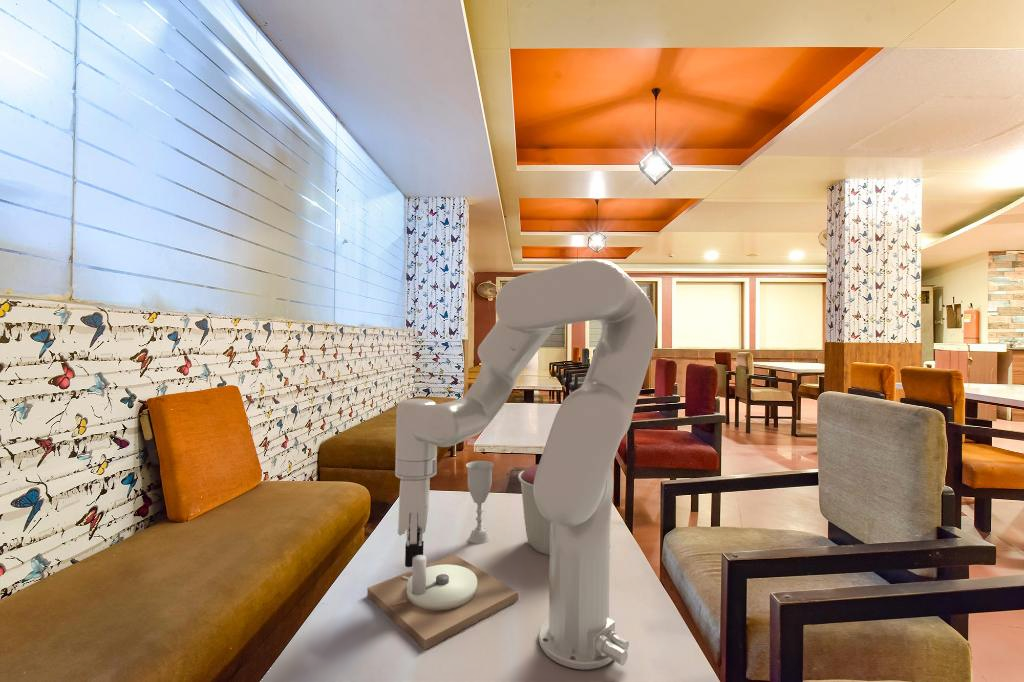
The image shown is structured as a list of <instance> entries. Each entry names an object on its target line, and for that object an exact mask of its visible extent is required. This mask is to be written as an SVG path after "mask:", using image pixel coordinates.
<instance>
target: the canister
mask: <svg viewBox="0 0 1024 682" xmlns="http://www.w3.org/2000/svg"><path fill="white" fill-rule="evenodd" d="M538 466H539V463H538V464H533V465H531V466H528V467H527V468H525V469H523V470H522V471H520V472H519V473H518V476H517V478H518V480H519V482H520V487H521V495H522V496H521V497H522V509H523V518H524V527H525V534H526V539H527V541H528V543H529V545H530V546H531V547H532V549H534V550H535V551H536V552H538V553H541V554H543V555H546V556H550V524H551V522H549V521H548V520H547V519H546V518H545V517H544V516H543V515H542V514H541V513H540V511H539V509H538V507H537V505H536V503H535V499H534V493H533V485H534V479H535V475H536V472H537V469H538Z"/></svg>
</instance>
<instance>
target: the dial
mask: <svg viewBox="0 0 1024 682" xmlns="http://www.w3.org/2000/svg"><path fill="white" fill-rule="evenodd" d="M426 565H427V557H426V555H424V554H423V555H417V556H414V557H413V559H412V567H411V568H412V569H411V571H412V576H411V577H410V578H409V580H408V582H407V598H408V600H409V601H410V602H411V603H412V604H413V605H415V606H417V607H419V608H422V609H427V610H448V609H453V608H456V607H459V606H462V605H464V604H466V603H467V602H469V601H470V600H471V599H473V597H474V596H475V594H476V592H477V577H476V575H475V574H474V573H473V572H472V571H471V570H469V569H467V568H465V567H462V566H458V565H449V564H444V565H435V566H430V567H427V568H426Z"/></svg>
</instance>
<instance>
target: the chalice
mask: <svg viewBox="0 0 1024 682" xmlns="http://www.w3.org/2000/svg"><path fill="white" fill-rule="evenodd" d="M494 465H495V463H493V462H492V461H487V460H474V461H469V462H467V463H466V464H465V466H466V469H467V488H468V491H469V493H470V496H471V498H472V500H473V503H475V504H476V505H477V507H476V508H477V509H476V511H475V512H476V514H477V516H476V518H475V520H476V523H477V524H476V527H474V528H473V529H472V530H471V532H470V535H469V537H468V541H469V542H470V543H472V544H477V545H479V544H486V543H487V542H489V541H490V537H489V533H488V531H487V529H486V528H484V527H483V526H482V521H483V520H484V519H483V517H482V514H483V509H482V504H483V503H486V500H487V498H488V495H489V494H490V491H491V488H492V485H493V477H492V476H493V467H494Z"/></svg>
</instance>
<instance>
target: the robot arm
mask: <svg viewBox="0 0 1024 682" xmlns="http://www.w3.org/2000/svg"><path fill="white" fill-rule="evenodd" d="M495 312H496V315H497V318H498V320H497V322H496V323H495V324H494V325H493V326H492V328H491V330H490V331H488V333H487V335H486V336H485V338H484V339H483V340H482V342H481V343H480V344H479V346H478V348H477V356H478V358H479V361H480V362H481V363H480V365H481V366H480V371H479V373H478V375H477V377H476V378H475V380H474V382H473V383H472V385H471V386H470V387H469V389H468V390H467V391H466V392H465V393H464V395H463V396H462V397H461V398H459V399H453V400H451V401H447V402H441V403H438V404H437V403H436V401H434V400H432V399H428V398H408V399H403V400H401V401H399V403H398V404H397V406H396V413H395V414H396V415H395V416H396V418H395V419H396V421H395V422H396V424H395V469H394V470H395V471H394V473H395V474H394V475H395V477H396V478H398V479H400V480H399V481H400V482H399V493H398V494H399V497H398V499H399V500H398V522H397V534H398V535H399V536H402V535H405V534H406V542H405V545H404V546H405V555H404V560H405V561H404V565H405V567H406V568H412V559H413V557H414V556H417V555H424V544H425V543H424V540H423V535H424V534H425V533H426V528H427V523H428V522H427V521H428V516H429V515H428V514H429V507H430V506H429V505H430V487H431V486H430V484H431V482H430V480H431V479H430V478H433V477H435V476H436V475H437V470H438V469H437V468H438V467H437V465H438V463H437V462H438V461H437V459H438V458H437V457H438V447H441V448H442V447H443V448H449V447H453V446H455V445H458V444H459V443H463V442H464V441H466V440H469V439H471V438H474V437H476V436H478V435H479V434H480V433H482V432H483V431H484V430H485V429H486V428H488V426H489V425H490V423H491V422H492V421H493V420H494V418H495V417H496V416H497V415H498V413H500V411H501V410H502V408H503V407H504V406H505V404H506V403H507V401H508V399H509V397H510V395H511V394H512V391H513V389H514V387H515V385H516V383H517V380H518V378H519V376H520V375H521V373H522V372H523V371H524V370H525V368H526V366H527V365H528V364H529V363H530V361H531V360H532V359H533V358H534V356H535V355H536V353H537V352H538V351H539V350H540V348H541V347H542V346H543V344H544V343H546V340H547V339H548V338H549V336H550V335H552V333H553V331H554V330H555V329H556V327H560V326H565V325H571V324H576V323H582V322H588V321H589V322H590V321H599V322H600V324H601V333H600V337H599V340H598V342H597V344H596V347H595V348H594V351H593V353H592V356H591V360H590V361H591V362H590V364H589V365H588V369H587V372H586V375H585V377H584V380H583V383H582V384H581V386H580V387H579V388H577V389H575V390H573V391H572V392H571V393H570V394H569V395H567V396H566V397H565V399H563V401H562V402H561V404H560V406H559V408H558V410H557V411H556V414H555V416H554V419H553V422H552V424H551V427H550V430H549V434H548V437H547V440H546V442H545V446H544V448H543V452H542V454H541V457H540V460H539V463H538V464H539V466H538V469H537V472H536V475H535V479H534V485H533V493H534V499H535V503H536V505H537V507H538V509H539V511H540V513H541V514H542V515H543V516H544V517H545V518H546V519H547V520H548V521H549V522H551V524H550V555H549V572H548V573H549V575H548V576H549V579H548V580H549V582H548V583H549V585H548V586H549V587H548V590H549V592H548V594H549V595H548V618H547V619H545V621H544V622H543V623H542V624H541V626H540V628H539V632H538V642H539V646H540V648H541V650H542V651H543V652H544V654H545V655H546V656H547V657H549V658H550V659H551V660H552V661H554V662H555V663H558V664H560V665H562V666H564V667H566V668H567V667H568V668H571V669H574V670H575V669H577V670H595V669H598V668H601V667H604V666H606V665H608V664H610V663H611V662H612V661H614V662H615V663H617V664H619V665H621V666H624V665H625V664H626V663H627V661H628V656H629V655H628V649H629V645H630V643H629V641H628V640H627V639H625V638H623V637H621V636H619V635H618V634H617V631H615V630H616V621H615V620H614V619H612V618H610V570H611V569H610V566H611V565H610V563H611V562H610V558H611V554H610V553H611V552H610V550H611V521H612V519H611V518H612V506H613V495H614V493H613V492H614V472H613V469H612V466H613V463H614V460H615V459H616V458H615V457H616V454H617V452H618V450H619V447H620V444H621V442H622V440H623V438H624V436H625V435H626V434H627V432H628V431H629V430H630V426H631V424H632V420H633V415H634V412H635V408H636V404H637V401H638V398H639V396H640V393H641V390H642V387H643V384H644V381H645V378H646V374H647V372H648V368H649V365H650V362H651V359H652V356H653V354H654V353H653V352H654V349H655V346H656V341H657V332H658V323H657V317H656V312H655V309H654V305H653V304H652V302H651V300H650V298H649V297H648V296H647V294H646V292H644V290H643V289H642V288H641V287H640V286H639V285H638V283H637V282H636V281H635V280H634V279H633V278H632V277H630V276H629V275H628V274H627V273H626V272H625V271H624V270H623V269H621V268H620V266H618V265H617V264H615V263H613V262H611V261H608V260H604V259H586V260H582V261H577V262H572V263H569V264H564V265H560V266H557V267H556V266H555V267H552V268H547V269H542V270H539V271H533V272H530V273H525V274H521V275H518V276H515V277H514V278H511V279H510V280H508V281H507V282H506V283H505V284H504V285H503V286H502V287H501V288H500V290H499V292H498V293H497V296H496V298H495Z"/></svg>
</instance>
